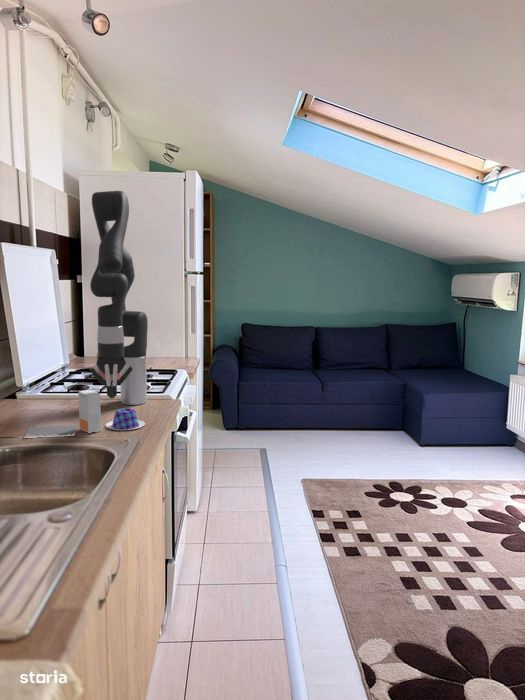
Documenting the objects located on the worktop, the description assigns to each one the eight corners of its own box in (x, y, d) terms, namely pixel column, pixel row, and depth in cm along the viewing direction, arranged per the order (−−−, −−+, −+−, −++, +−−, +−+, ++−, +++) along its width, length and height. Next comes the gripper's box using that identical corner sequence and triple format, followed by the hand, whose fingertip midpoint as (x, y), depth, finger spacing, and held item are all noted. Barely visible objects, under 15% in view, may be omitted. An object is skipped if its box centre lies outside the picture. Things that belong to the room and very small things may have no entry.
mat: (29, 428, 166) (29, 427, 166) (77, 426, 169) (77, 425, 169) (23, 438, 156) (23, 437, 156) (74, 436, 160) (74, 435, 160)
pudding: (127, 419, 180) (127, 403, 179) (153, 425, 173) (153, 409, 172) (97, 427, 170) (97, 410, 169) (123, 434, 163) (122, 417, 162)
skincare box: (79, 429, 166) (77, 391, 164) (92, 427, 169) (91, 389, 167) (88, 434, 162) (87, 395, 160) (101, 431, 165) (100, 392, 163)
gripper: (133, 338, 168) (134, 394, 171) (88, 339, 165) (89, 395, 167) (133, 342, 161) (134, 399, 163) (86, 342, 157) (88, 401, 160)
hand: (111, 397), depth 165 cm, fingers closed
